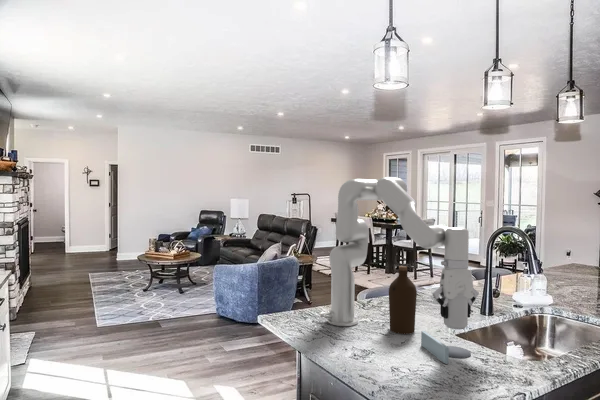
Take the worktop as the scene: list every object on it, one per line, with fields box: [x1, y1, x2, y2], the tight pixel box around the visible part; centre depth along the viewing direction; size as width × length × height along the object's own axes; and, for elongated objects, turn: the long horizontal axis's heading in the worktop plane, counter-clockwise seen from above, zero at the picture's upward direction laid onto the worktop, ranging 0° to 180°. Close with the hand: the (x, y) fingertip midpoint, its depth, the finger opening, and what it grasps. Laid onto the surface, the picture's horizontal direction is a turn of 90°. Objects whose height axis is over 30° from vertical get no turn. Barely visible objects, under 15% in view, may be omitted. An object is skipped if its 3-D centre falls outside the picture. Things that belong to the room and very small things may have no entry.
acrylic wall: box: [420, 330, 450, 364], centre depth 139 cm, size 1×16×5 cm, turn 11°
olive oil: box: [388, 265, 418, 335], centre depth 163 cm, size 11×11×25 cm
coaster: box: [446, 345, 472, 359], centre depth 141 cm, size 10×10×1 cm
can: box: [443, 293, 469, 330], centre depth 141 cm, size 8×8×12 cm
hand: (455, 316), depth 141 cm, fingers closed on can, 7 cm apart
